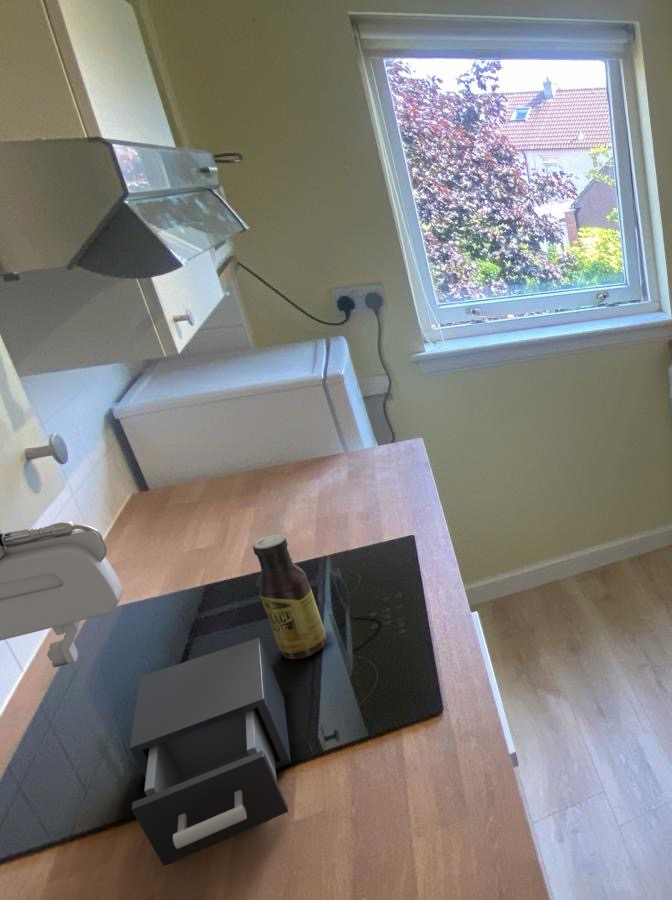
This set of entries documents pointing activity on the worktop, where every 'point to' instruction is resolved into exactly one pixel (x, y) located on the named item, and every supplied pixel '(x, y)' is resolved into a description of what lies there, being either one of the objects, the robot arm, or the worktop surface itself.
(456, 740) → the worktop surface
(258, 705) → the cabinet
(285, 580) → the sauce bottle
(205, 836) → the drawer
